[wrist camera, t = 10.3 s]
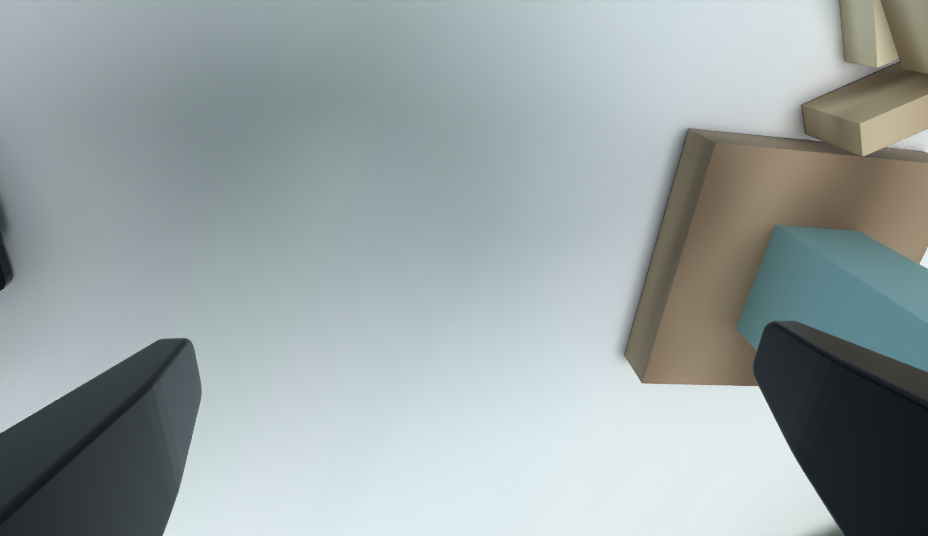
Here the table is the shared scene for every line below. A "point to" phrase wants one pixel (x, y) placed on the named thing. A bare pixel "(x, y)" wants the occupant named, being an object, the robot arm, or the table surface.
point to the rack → (871, 111)
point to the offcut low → (866, 33)
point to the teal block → (841, 291)
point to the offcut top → (909, 31)
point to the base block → (756, 239)
